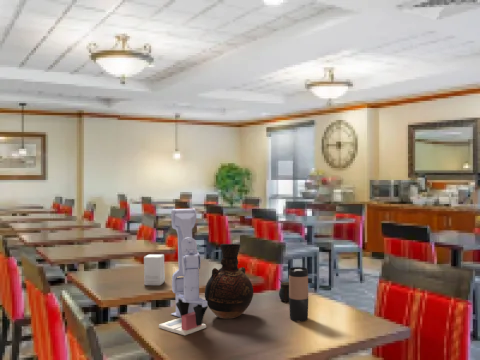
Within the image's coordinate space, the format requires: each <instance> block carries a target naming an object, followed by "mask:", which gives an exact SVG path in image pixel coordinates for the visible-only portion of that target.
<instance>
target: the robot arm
mask: <svg viewBox="0 0 480 360" xmlns="http://www.w3.org/2000/svg"><path fill="white" fill-rule="evenodd" d="M170 215H171V217H170V218H171V228H172V229H173V230H175V232H176V234H177V261H178V263H177V264H178V269H177V270H175V271H174V272H173V274H172V275H171V290H172V293H173V294H175V312H172V313H170V315H172V316H175V317H178V318H182V315H185V314H188V313H192V312H195V316H196V325H197V326H199V325H201V324H202V323H203V319H204V316H205V313H206V311H207V310H208V309H209V307H208V305H207V301H206V300H205V299H204V298H202V297H200V269H201V265H202V263H201V262H202V261H201V260H202V259H201V255H200V252H199V251H198V246H197V240H196V239H195V238H194V237H193V229H194V228H195V225H196V223H197V210H196V208H195V207H192V208H172V209H171V213H170Z"/></svg>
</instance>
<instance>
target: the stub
mask: <svg viewBox="0 0 480 360" xmlns="http://www.w3.org/2000/svg"><path fill="white" fill-rule="evenodd" d="M206 328H207V324H205V323H203V322H202V324H201V325H199V326H197V325H196V316H195V312H192V313H188V314H185V315H182V327H181V328H178V329H175V333H176V334H179V335H182V336H188V335H190V334H194V333H196V332H198V331H201V330H203V329H206Z"/></svg>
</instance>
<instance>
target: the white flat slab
mask: <svg viewBox="0 0 480 360" xmlns="http://www.w3.org/2000/svg"><path fill="white" fill-rule="evenodd" d="M181 327H182V318H181V317H178V318H175V319H172V320H169V321H166V322H162V323H159V324H158V328H159V329H162V330H164V331H168V332H172V333H175V329H178V328H181Z"/></svg>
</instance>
